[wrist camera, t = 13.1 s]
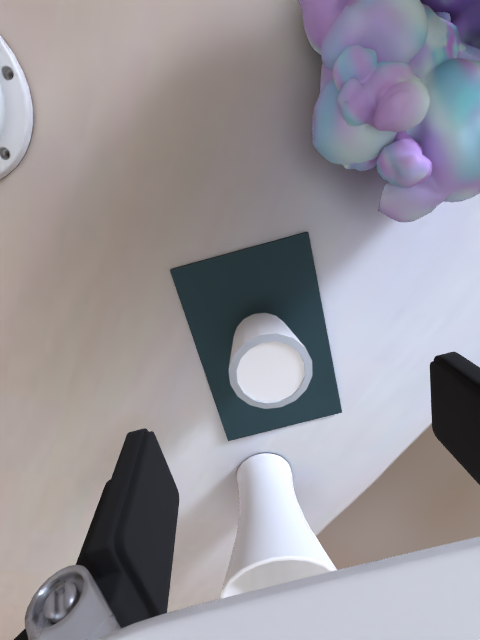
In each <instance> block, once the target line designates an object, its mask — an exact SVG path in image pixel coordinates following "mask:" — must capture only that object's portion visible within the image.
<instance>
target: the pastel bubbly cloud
mask: <svg viewBox="0 0 480 640" xmlns="http://www.w3.org/2000/svg"><path fill="white" fill-rule="evenodd" d="M299 3H300V6H301V10H302V15H303V24H304V29H305V32H306V35H307V38H308V40H309V42H310V44H311V46H312V48H313V49H314V50H315V51H317V52H318V53H319V54H320V55H321V56H322V61H323V64H322V70H321V84H320V96H319V98H318V100H317V102H316V105H315V107H314V113H313V121H312V136H313V146H314V147H315V149H316V150H317V152H318V153H320V154H321V155H322V156H323V157H324V158H325V159H326V160H327V161H329V162H331V163H333V164H342V165H343V167H345V168H346V169H356V170H359V171H364V170H370V169H373V168H374V167H375V166H376V165H377V170H378V172H379V174H380V175H381V177H382V178H383V179H385V180H386V181H387V182H388V183H386V184H385V186H384V189H383V191H382V194H381V198H380V206H379V209H378V211H380V212H382V213H383V214H385V215H387V216H388V217H390V218H392V219H394V220H396V221H398V222H411V221H415V220H417V219H419V218H421V217H423V216H424V215H426V214H428V213H430V212H432V211H433V210H434V209H435V208H436V207H437V206H438V205H439V204H440V203H441V202H443V201H445V202H458V201H463V200H466V199H469V198H471V197H474V196H475V195H477V194H479V193H480V0H299ZM435 12H447V13H449V14H450V17H451V22H449V21H447V20H445V19H443V18H441V17H439V16H438V15H437V14H436V13H435Z"/></svg>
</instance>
